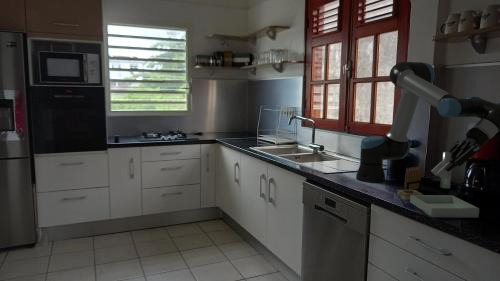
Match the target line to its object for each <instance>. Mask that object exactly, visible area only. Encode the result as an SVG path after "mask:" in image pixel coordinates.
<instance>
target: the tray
mask: <svg viewBox="0 0 500 281" xmlns="http://www.w3.org/2000/svg"><path fill="white" fill-rule="evenodd" d="M409 203H411V204H412V205H414V206H415V207H417V208H418V209H420V210H422V212H423V213H424V214H426V215H427V216H428V217H430V218H480V216H479V214H480V208H479V207H477V206H475V205H473V204H471V203H469V202H467V201H465V200H462V199H461V198H458V197H456V196H454V195H446V194H445V195H444V194H443V195H442V194H441V195H430V194H429V195H428V194H425V195H424V194H423V195H410V200H409Z"/></svg>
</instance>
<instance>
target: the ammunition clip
mask: <svg viewBox="0 0 500 281" xmlns="http://www.w3.org/2000/svg"><path fill="white" fill-rule="evenodd" d="M421 170H422V169H421V166H420V165H419V166H414V167H413V166H412V167H407V168H406V170H405V178H404V182H403V189H402V190H416V191H420V190H422V180H421V179H422V172H421Z"/></svg>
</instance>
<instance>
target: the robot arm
mask: <svg viewBox="0 0 500 281" xmlns="http://www.w3.org/2000/svg"><path fill="white" fill-rule="evenodd" d="M434 69H435V68H434V67H433V66H432V65H431V64H430V63H428V62H422V61H417V62H416V61H400V62H397V63H396V64H394V65H393V66H392V68H391V69H390V71H389V79H390V82H391V83H392V84H393V85H394V86H396V87H397V88H398V89H402V91H401V95H400V98H399V101H398V105H397V108H396V112H395V115H394V118H393V121H392V124H391V127H390V130H389V131H388V132H386V133H385V136H381V135H380V136H379V135H378V136H377V135H375V136H374V135H373V136H371V135H370V136H365V137H363V138H362V139H361V141H360V142H361V143H360V158H359V159H360V161H359V167H358V170H357V172H356V174H355V175H356V176H355V179H356V180H358V181H360V182H365V183H383V182H386V175H385V171H384V165H383V163H384V161H388V160H395V161H396V160H402V159H404V158H406V157H407V156H408V155H409V153H410V150H411V146H410V142H409V138H408V136H407V135H408V133H409V132H408V131H409V130H410V127H411V122H412V120H413V118H414V114H415V111H416V109H417V105H418V103H419V100H420V99H421V100H423V101H424V102H426V103H428V104H430V105H431V106H432V107H434V108H436V109H437V113H438V114H439V115H440V116H441V117H443V118H449V119H451V118H478V119H479V121H477V123H476V124H474V126H473V127H471V128H470V129H469V130H468V131H467V132H466V133H465V136H466V138H464V139H462V140H461V141H459V140H456V141H455V142H454V144H453V145H452V146H451V147H450V148H449V149H448V150H447V151H446V152H452V153H453V157H452V160H450V162H451V163H450V162H448V163H447V164H446V165H445V166H443V167H442V160H441V161H440V162H439V163H438V164H437V165H435V166H434V167H433V169H431V170H430V171H431V173H432V174H433V175H434V176H435V177H440V179H441V178H443V177H444V176H445V175H446V174H447V173H448V172H449V171H450V170H451V169H452V170H453V169H454V168H457V167H462V165H464V164H465V163H466V162H467V161H468V160H470V158H472V157H473V156H474V155H475V154H477V153H478V152H480V151H481V150H482V149H481V148H480V147H484V146H485V145H486V144H487V143H488V142H489V141H490V140H491V139H492V138H493V137H495V136H496V134H497V133H499V132H500V101H498V103H495V102H493V101H489V100H486V99H484V98H481V97H479V96H474V95H469V96H467V97H465V98H462V97H461V98H459V97H456V96H454V94H450V93H449V92H447V91H446V90H444V89H442V88H440V87H438V86H436V85H435V84H433V83H434V81H435V79H436V72H435V70H434ZM441 159H442V156H441ZM452 170H451V171H452Z"/></svg>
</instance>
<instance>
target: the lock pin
mask: <svg viewBox="0 0 500 281" xmlns="http://www.w3.org/2000/svg"><path fill="white" fill-rule="evenodd" d="M441 157H442V158H441V161H442V167H443V166H445V165H446V164H447V163H448V162H450V160H452V157H453V153H452V152H447V151H442V156H441ZM450 163H451V162H450ZM452 171H453V169H451V170H450V171H449V172H448V173H447V174H446V175H445V176H444V177H443V178H440V184H439V187H440V188H442V189H450V188H451V180H452V179H451V178H452Z"/></svg>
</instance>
